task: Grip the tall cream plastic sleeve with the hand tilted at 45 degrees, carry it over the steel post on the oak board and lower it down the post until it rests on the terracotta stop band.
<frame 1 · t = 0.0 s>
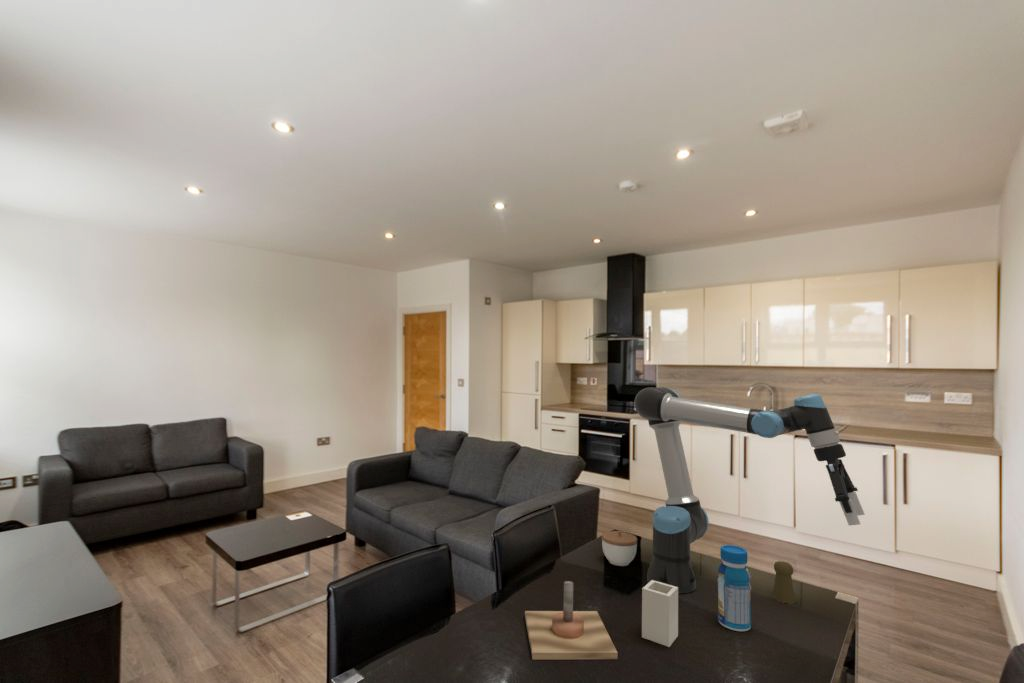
hand: (857, 519, 135), 28 cm above the table, tool tilted 20°, fingers open, 13 cm apart
beverage bottle: (734, 625, 128), on the table
white lidded jar: (619, 562, 171), on the table
olive pepper shaker: (784, 600, 145), on the table
post board: (567, 636, 120), on the table
sleeve: (660, 636, 121), on the table
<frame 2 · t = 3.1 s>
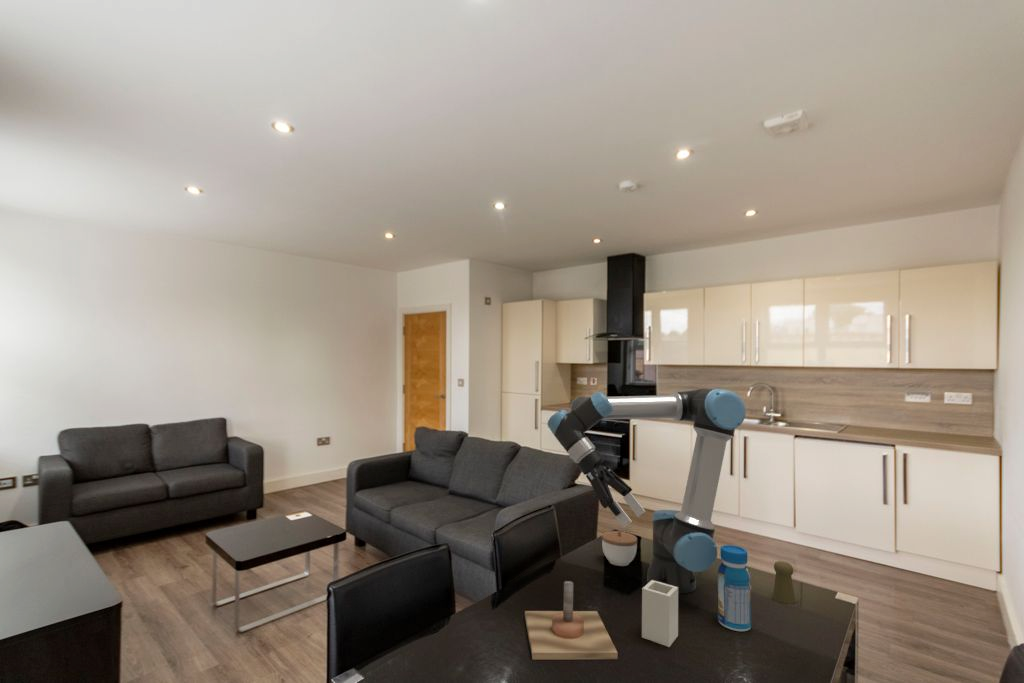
hand: (635, 519, 130), 27 cm above the table, tool tilted 45°, fingers open, 13 cm apart
nothing on the table moved.
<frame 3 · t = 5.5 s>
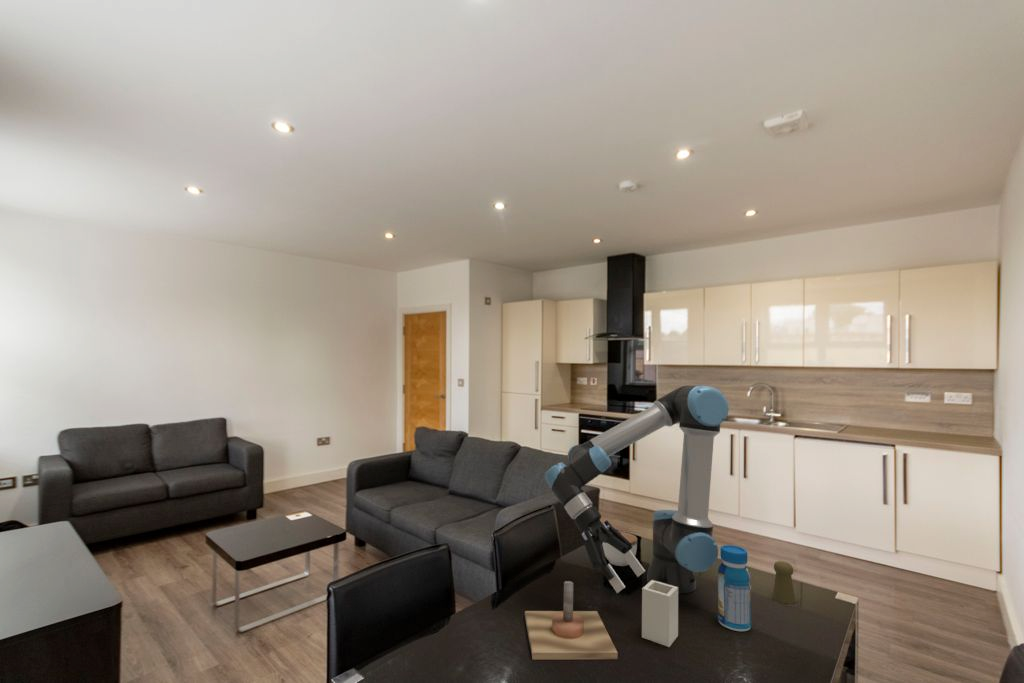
hand: (632, 581, 126), 12 cm above the table, tool tilted 45°, fingers open, 13 cm apart
nothing on the table moved.
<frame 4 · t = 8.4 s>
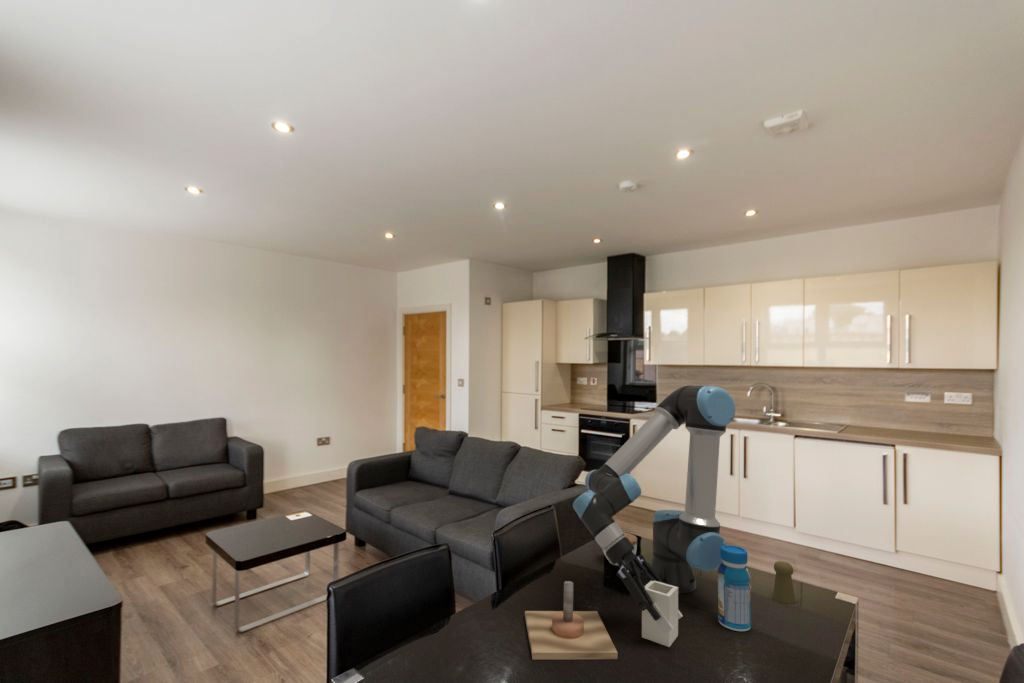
hand: (673, 624, 119), 4 cm above the table, tool tilted 45°, fingers closed on sleeve, 7 cm apart
sleeve: (660, 636, 121), on the table, touching gripper
everything else where it was.
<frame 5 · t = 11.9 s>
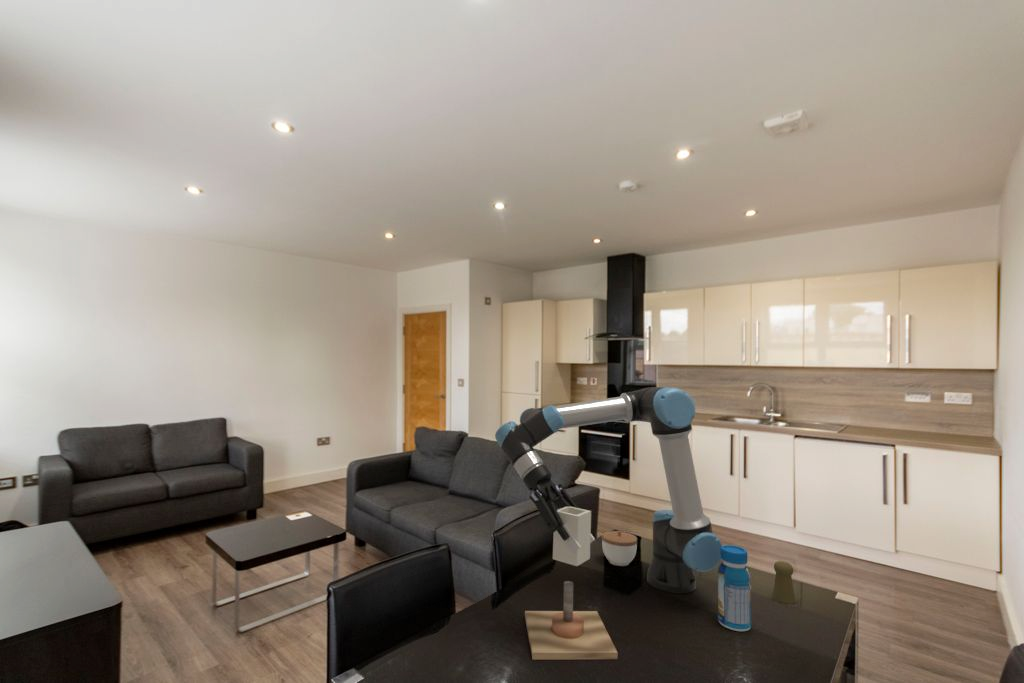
hand: (584, 546, 120), 23 cm above the table, tool tilted 45°, fingers closed on sleeve, 7 cm apart
sleeve: (571, 558, 121), point 19 cm above the table, touching gripper
everything else where it was.
when the fingers open (10 cm above the table, at t = 15.4 s): sleeve drops 2 cm, resting on post board.
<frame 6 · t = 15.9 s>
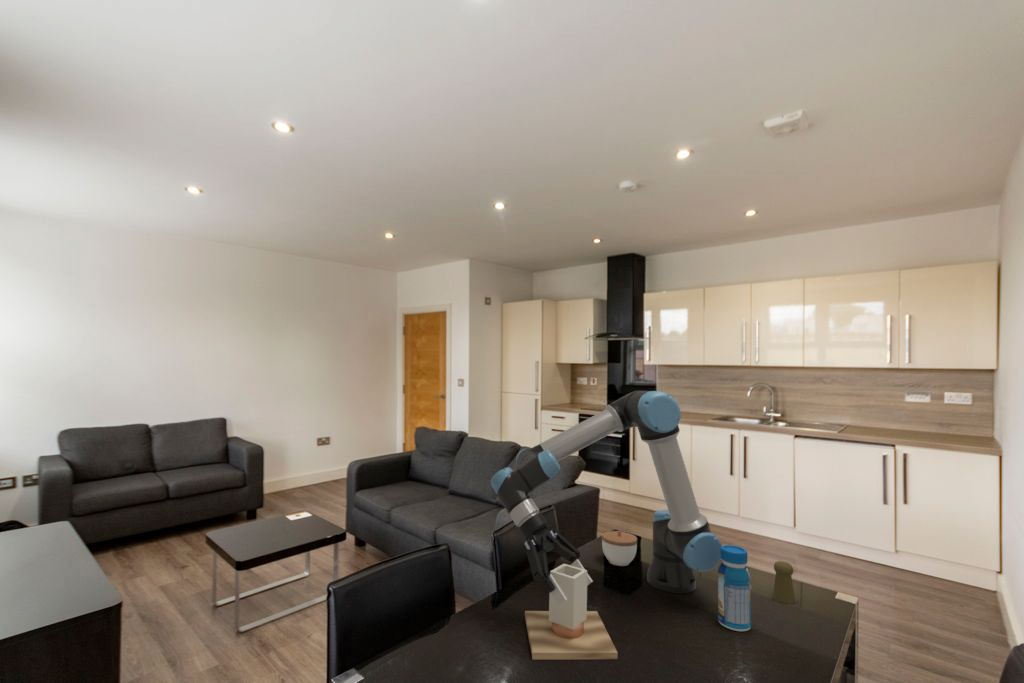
hand: (576, 593, 119), 11 cm above the table, tool tilted 45°, fingers open, 13 cm apart
sleeve: (567, 619, 120), point 4 cm above the table, touching post board
everything else where it was.
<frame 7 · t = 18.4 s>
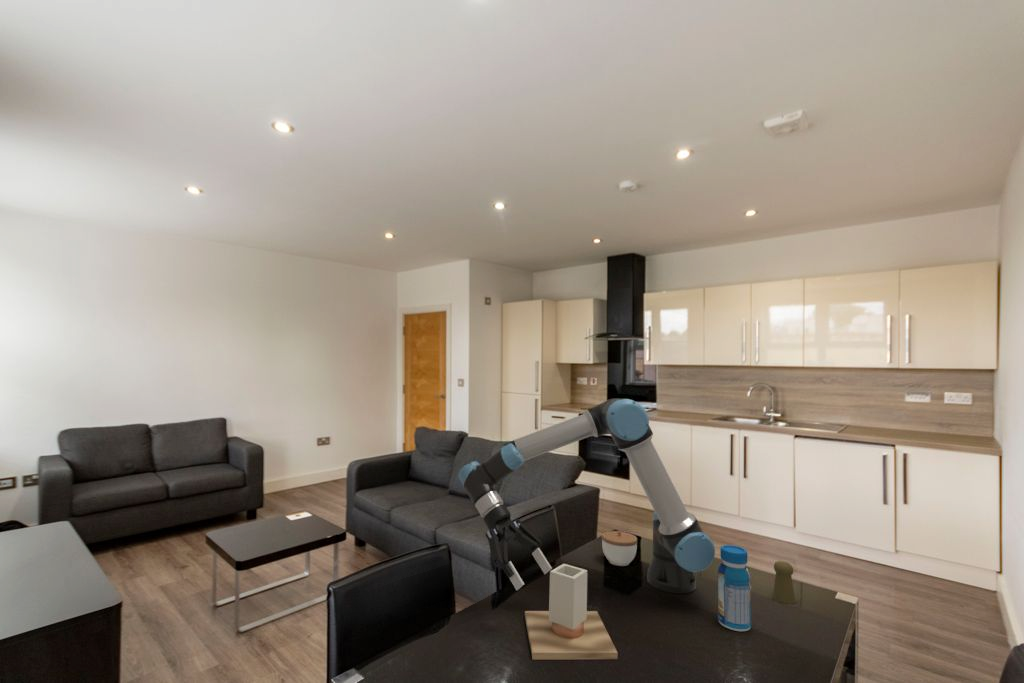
hand: (535, 579, 127), 11 cm above the table, tool tilted 45°, fingers open, 13 cm apart
nothing on the table moved.
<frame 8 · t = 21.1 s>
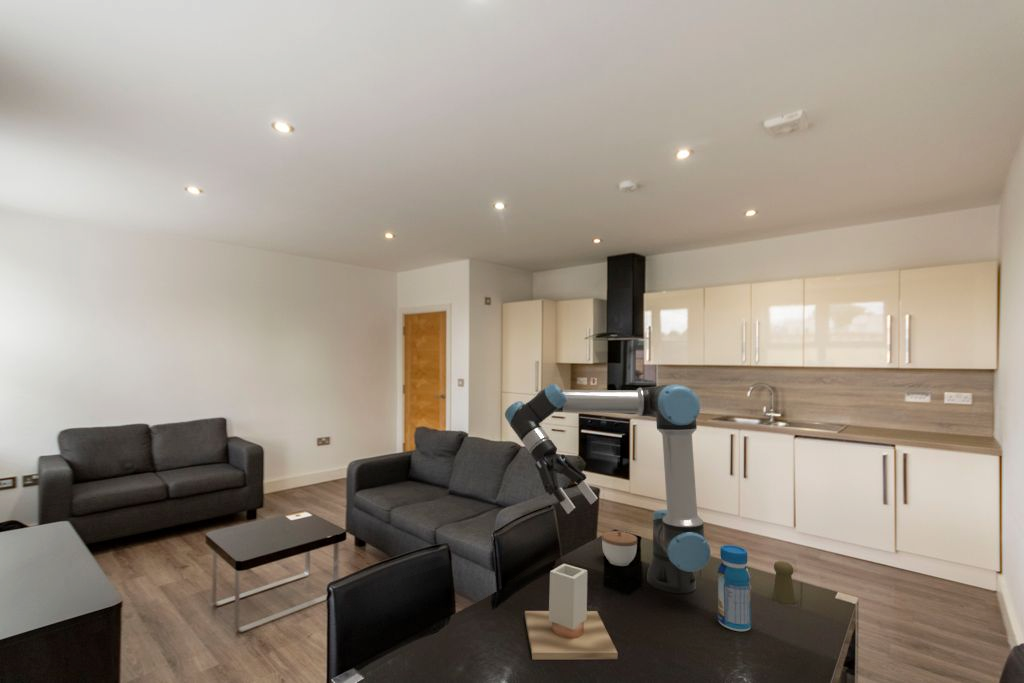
hand: (583, 506, 133), 30 cm above the table, tool tilted 45°, fingers open, 13 cm apart
nothing on the table moved.
at the end: sleeve 0.0 cm off-centre on the post board, point 4.0 cm above the post board's base; sleeve tilted 0°; the gripper is holding nothing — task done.
